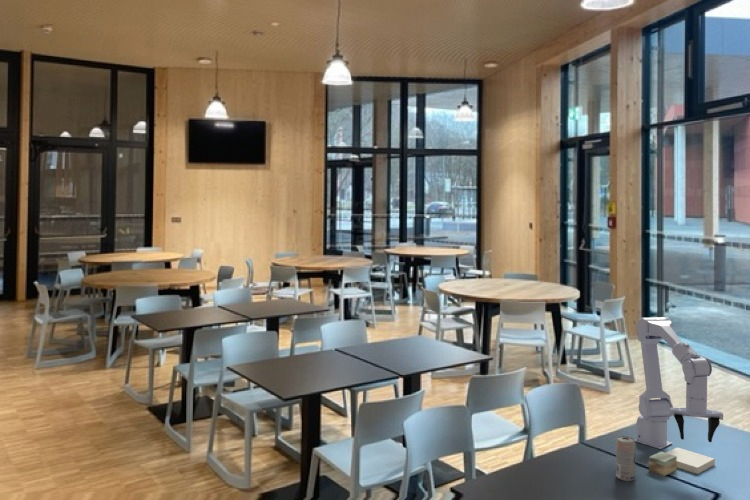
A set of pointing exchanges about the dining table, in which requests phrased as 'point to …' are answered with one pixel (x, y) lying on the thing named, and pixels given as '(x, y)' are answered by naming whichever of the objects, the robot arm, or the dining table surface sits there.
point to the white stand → (691, 460)
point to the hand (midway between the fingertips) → (695, 439)
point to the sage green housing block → (662, 463)
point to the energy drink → (625, 458)
